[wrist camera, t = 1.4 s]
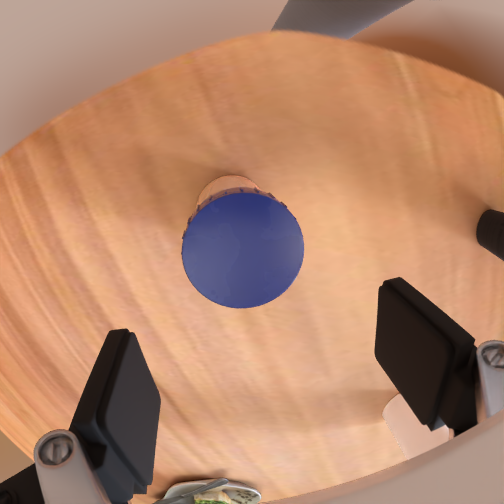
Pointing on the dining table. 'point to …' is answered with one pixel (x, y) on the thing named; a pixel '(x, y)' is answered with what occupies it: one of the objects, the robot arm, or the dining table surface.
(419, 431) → the cylindrical container
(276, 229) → the lid
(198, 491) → the salad plate
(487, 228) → the drinking cup
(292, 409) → the dining table surface
